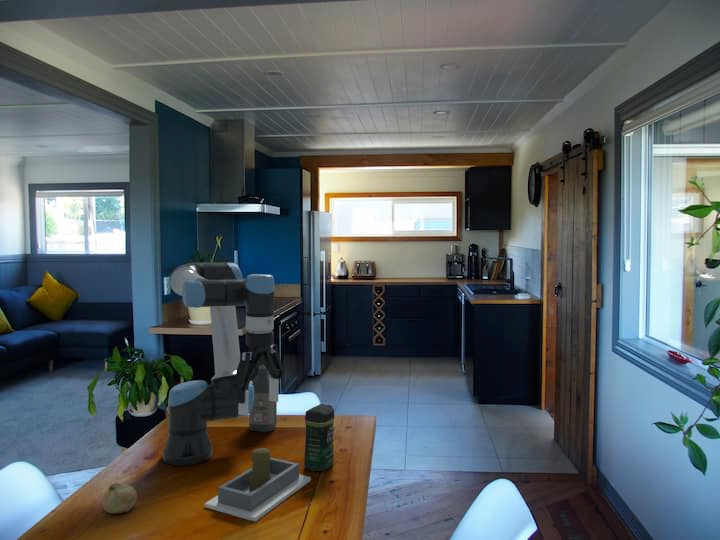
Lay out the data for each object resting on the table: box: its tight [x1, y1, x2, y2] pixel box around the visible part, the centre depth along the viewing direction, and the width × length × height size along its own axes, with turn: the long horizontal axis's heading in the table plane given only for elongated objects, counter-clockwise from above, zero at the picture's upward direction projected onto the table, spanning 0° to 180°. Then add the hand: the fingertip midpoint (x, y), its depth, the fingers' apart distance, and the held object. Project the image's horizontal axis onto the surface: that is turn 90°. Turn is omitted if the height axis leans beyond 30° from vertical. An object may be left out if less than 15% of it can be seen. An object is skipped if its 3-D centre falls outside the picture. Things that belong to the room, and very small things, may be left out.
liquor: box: [248, 364, 278, 433], centre depth 196 cm, size 9×9×30 cm
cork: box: [250, 447, 272, 492], centre depth 144 cm, size 6×6×11 cm
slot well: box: [204, 456, 312, 523], centre depth 144 cm, size 26×16×5 cm, turn 154°
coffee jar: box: [303, 403, 335, 472], centre depth 162 cm, size 10×8×19 cm
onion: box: [101, 482, 138, 515], centre depth 134 cm, size 8×8×7 cm
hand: (259, 407), depth 145 cm, fingers open, 13 cm apart
